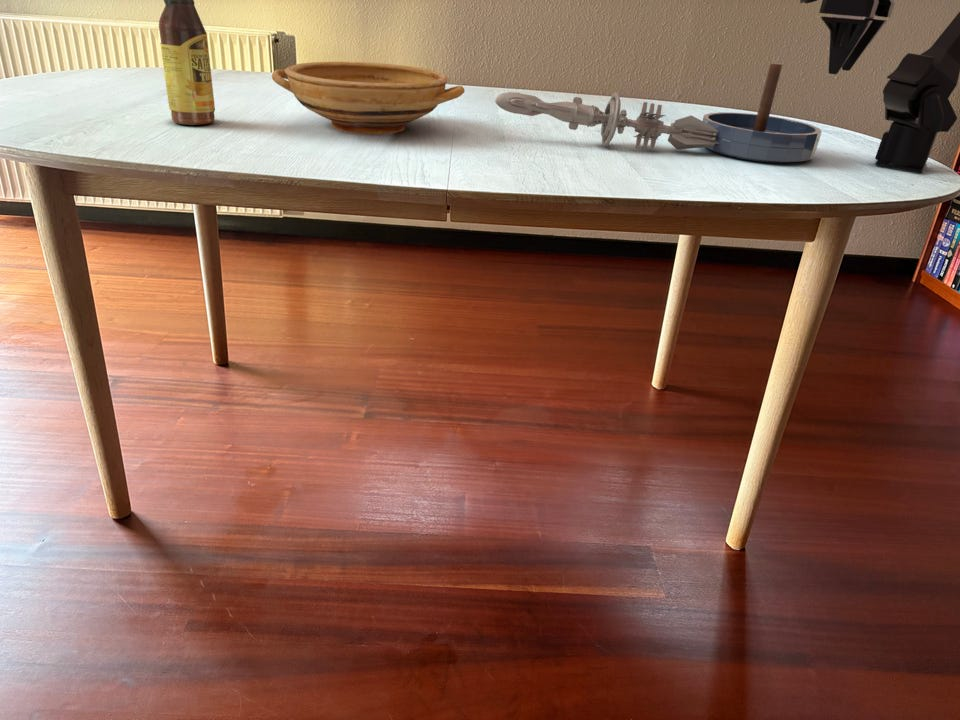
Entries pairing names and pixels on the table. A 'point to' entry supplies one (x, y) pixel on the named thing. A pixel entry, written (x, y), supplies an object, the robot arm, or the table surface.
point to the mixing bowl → (763, 138)
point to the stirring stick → (767, 96)
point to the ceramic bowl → (366, 93)
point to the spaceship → (615, 120)
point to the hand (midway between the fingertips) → (839, 72)
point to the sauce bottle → (186, 64)
